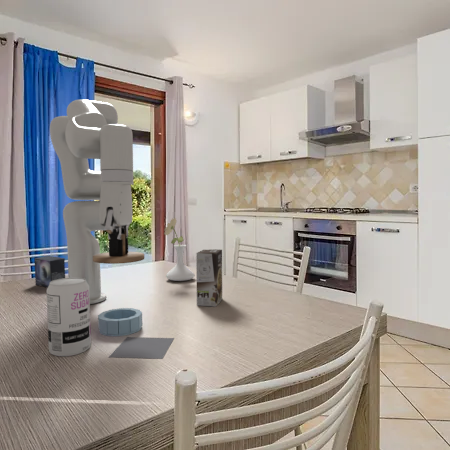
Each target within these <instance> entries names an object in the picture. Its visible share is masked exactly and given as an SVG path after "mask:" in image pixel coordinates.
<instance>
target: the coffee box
mask: <svg viewBox="0 0 450 450" xmlns="http://www.w3.org/2000/svg"><path fill="white" fill-rule="evenodd" d="M195 255H196V257H195V258H196V260H195V261H196V266H195V267H196V306H198V307H199V306H204V307H217V306H218V305H219V304H220V302H221V301H222V300H223V249H202V250H200V251H198V252H196V253H195Z"/></svg>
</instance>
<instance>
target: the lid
mask: <svg viewBox="0 0 450 450" xmlns="http://www.w3.org/2000/svg"><path fill="white" fill-rule="evenodd" d="M121 239H123V256H109V251H108V252H107V251H106V252H102V253H101V252H100V254H96V255H94V256H93V261H94V262H96V263H100V264H107V265H108V264H111V265H112V264H113V265H115V264H116V265H117V264H130V263H137V262H140V261H141V262H142V261H143V260H145V253H144V252H140V251H128V254H125V234H121Z"/></svg>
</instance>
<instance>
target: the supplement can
mask: <svg viewBox="0 0 450 450" xmlns="http://www.w3.org/2000/svg"><path fill="white" fill-rule="evenodd" d="M90 305H91V304H90V298H89V285H88V284H87V282H86V279H84V278H69V277H65V278H63V279H57V280H53V281H51V282H50V284H49V286H48V288H47V287H46V310H47V311H46V312H47V316H46V317H47V336H48V338H47V339H48V352H49V353H50V354H51V355H54V356H56V357H71V356H76V355H80V354H82V353H84V352H86V351H87V350H88V349H90V348H91V346H92V340H91V339H92V333H91V308H90V307H91V306H90Z"/></svg>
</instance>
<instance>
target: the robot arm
mask: <svg viewBox="0 0 450 450" xmlns="http://www.w3.org/2000/svg"><path fill="white" fill-rule="evenodd" d="M66 107H67V108H66V115H60V116H56V117H53V118H52V119H51V121H50V123H49V137H50V140H51V144H52V147H53V149H54V151H55V154H56V155H57V158H58V160H59V162H60V167H61V168H60V169H61V174H62V181H63V182H62V183H63V189H64V192H65V195H66V196H67V198H69V199H71V200H74V201H70V202H68V203H67V204H66V205H65V206H64V208H63V210H62V217H63V224H64V228H65V233H66V234H65V235H66V245H67V246H66V248H67V249H66V250H67V271H68V272H67V273H68V275H67V276H68V277H67V278H84V279H86V282H87V284H88V285H89V298H90V305H94V304H98V303H101V302H103V301H105V300H107V294H105V293H104V292H102V282H101V281H102V280H101V263H96V262H94V261H93V256H94V255H96V254H100V253H101V249H100V243H99V241H98V239H96V237H95V236H93V234H92V232H96V231H97V232H98V231H105V232H107V240H108V252H109V256H123V239H121V234H125V254H128V252H129V227H130V224H132V223H133V196H132V195H133V194H132V185H133V186H134V145H133V144H134V140H133V139H134V138H133V136H134V135H133V131H132V128H130V127H129V126H127V125H125V124H119V123H118V122H119V121H118V119H119V117H118V112H117V109H116V108H115V106H114V105H112V104H111V103H109V102H104V101H103V102H102V101H97V100H89V99H75V100H73V101H71V102H70V103H69V104H68V105H67V106H66ZM89 159H90V160H91V159H92V160H94V159H96V160H99V163H100V164H99V166H100V171H97V170H91V169H90V165H89Z"/></svg>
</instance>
